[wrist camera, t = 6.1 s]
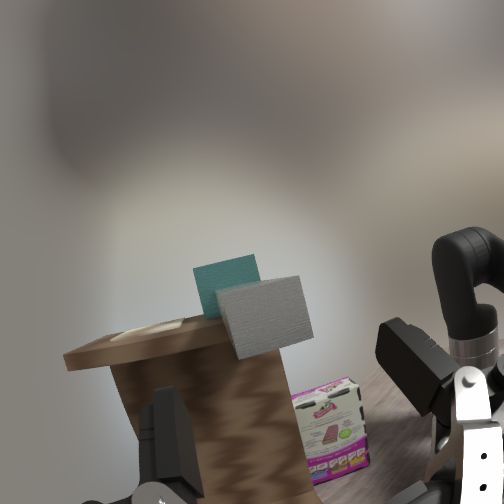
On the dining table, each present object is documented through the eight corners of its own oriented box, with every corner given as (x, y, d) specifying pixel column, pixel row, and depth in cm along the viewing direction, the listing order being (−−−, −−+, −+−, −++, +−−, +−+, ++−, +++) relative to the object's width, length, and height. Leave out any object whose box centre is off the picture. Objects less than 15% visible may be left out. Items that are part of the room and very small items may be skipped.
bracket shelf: (312, 490, 32) (262, 297, 35) (340, 536, 20) (289, 302, 23) (187, 519, 29) (106, 333, 31) (185, 570, 17) (62, 352, 20)
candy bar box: (360, 451, 39) (348, 374, 40) (371, 465, 34) (361, 384, 35) (299, 472, 38) (279, 397, 39) (305, 489, 33) (284, 410, 34)
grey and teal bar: (256, 301, 34) (246, 259, 34) (347, 325, 11) (316, 205, 11) (206, 314, 33) (195, 271, 33) (200, 369, 10) (166, 238, 10)
